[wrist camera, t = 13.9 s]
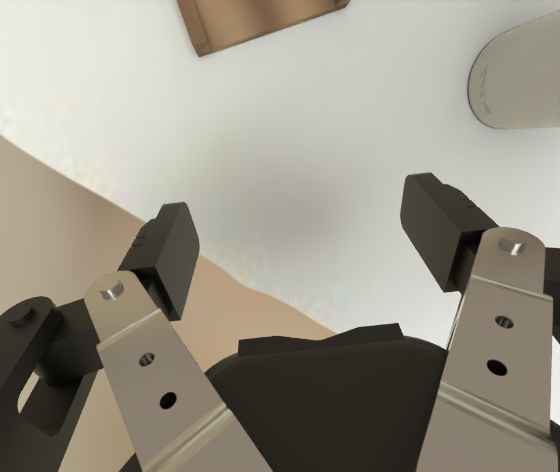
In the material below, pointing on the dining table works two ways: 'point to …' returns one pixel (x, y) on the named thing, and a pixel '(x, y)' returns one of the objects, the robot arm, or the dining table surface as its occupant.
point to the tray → (245, 19)
